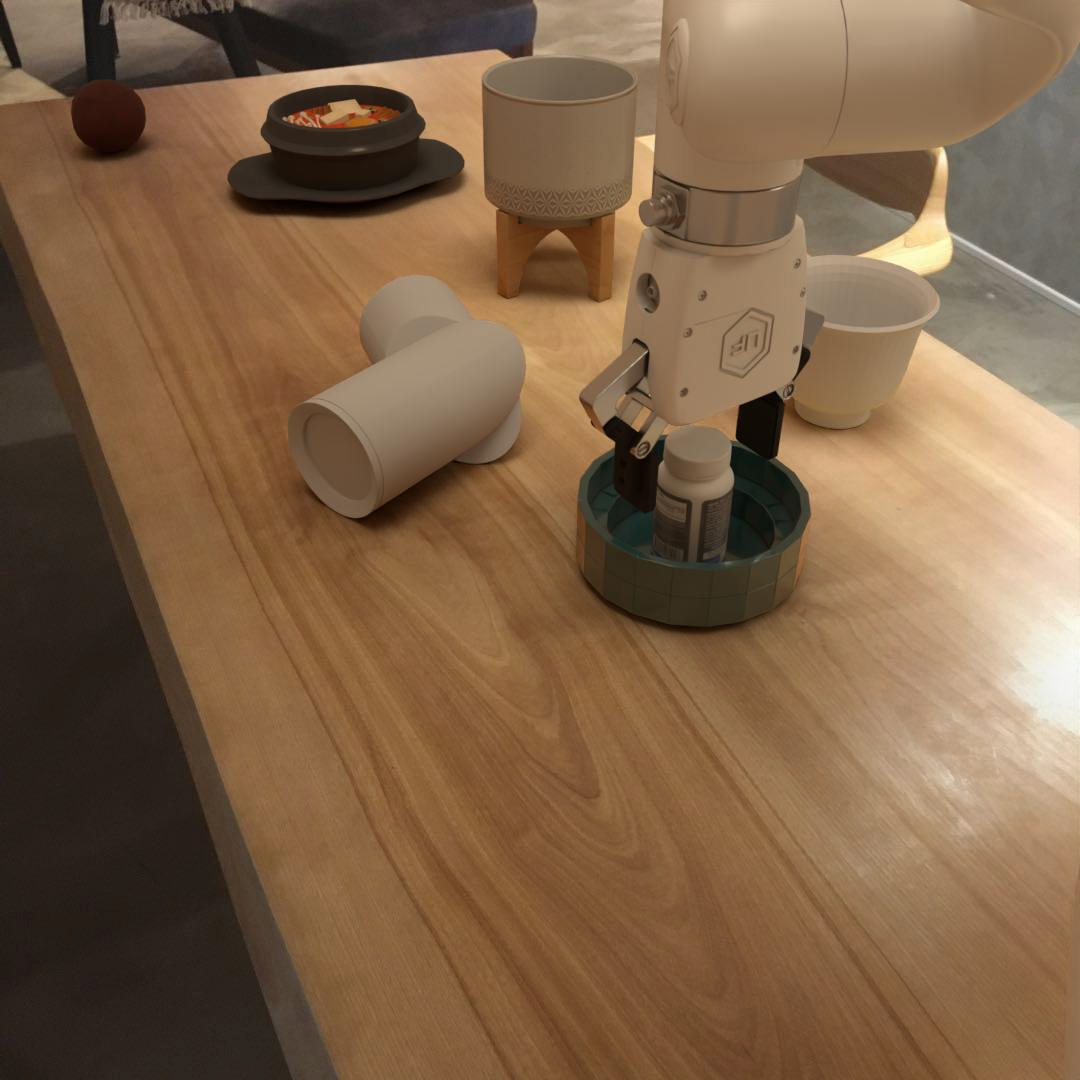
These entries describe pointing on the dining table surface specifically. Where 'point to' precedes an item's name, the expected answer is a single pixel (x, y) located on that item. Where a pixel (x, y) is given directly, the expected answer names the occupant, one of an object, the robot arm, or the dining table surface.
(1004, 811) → the dining table surface
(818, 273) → the teacup
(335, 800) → the dining table surface
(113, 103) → the dark brown ball
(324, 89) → the casserole
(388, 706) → the dining table surface
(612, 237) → the planter
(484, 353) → the beige tubular fitting
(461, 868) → the dining table surface
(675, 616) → the bowl
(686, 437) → the pill bottle
